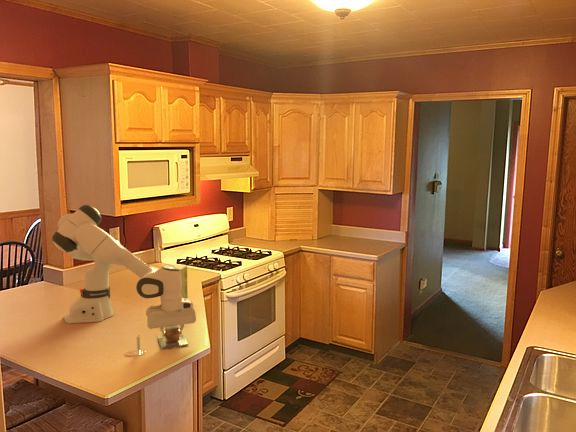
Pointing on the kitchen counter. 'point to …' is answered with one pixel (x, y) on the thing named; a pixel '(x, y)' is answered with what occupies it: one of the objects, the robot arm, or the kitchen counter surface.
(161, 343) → the trivet
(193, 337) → the kitchen counter surface
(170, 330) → the cube
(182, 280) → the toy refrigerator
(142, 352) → the unidentifiable
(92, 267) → the robot arm
